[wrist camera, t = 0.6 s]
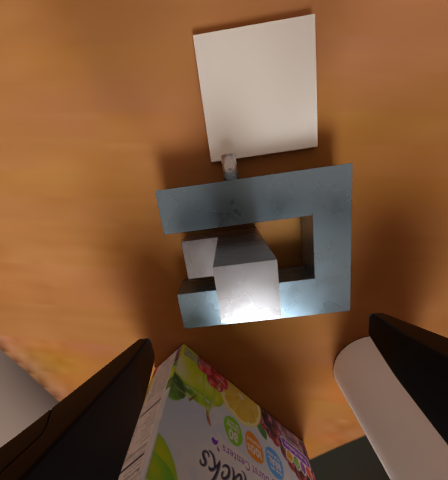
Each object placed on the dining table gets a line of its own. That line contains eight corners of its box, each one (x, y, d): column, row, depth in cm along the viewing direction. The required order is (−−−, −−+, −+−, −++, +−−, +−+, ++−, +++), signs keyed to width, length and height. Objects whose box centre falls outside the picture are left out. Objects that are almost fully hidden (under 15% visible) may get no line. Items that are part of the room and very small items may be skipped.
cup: (323, 388, 25) (483, 726, 9) (346, 330, 23) (600, 638, 7) (390, 399, 25) (653, 744, 10) (419, 342, 23) (812, 665, 8)
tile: (311, 20, 16) (314, 13, 15) (315, 147, 18) (317, 146, 18) (194, 40, 16) (192, 35, 16) (211, 162, 19) (211, 161, 18)
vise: (332, 141, 18) (352, 133, 15) (333, 293, 22) (350, 310, 19) (161, 167, 19) (149, 163, 16) (189, 310, 22) (184, 328, 20)
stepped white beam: (255, 227, 20) (277, 259, 11) (258, 261, 21) (281, 316, 12) (186, 236, 20) (155, 274, 12) (192, 269, 21) (168, 328, 13)
